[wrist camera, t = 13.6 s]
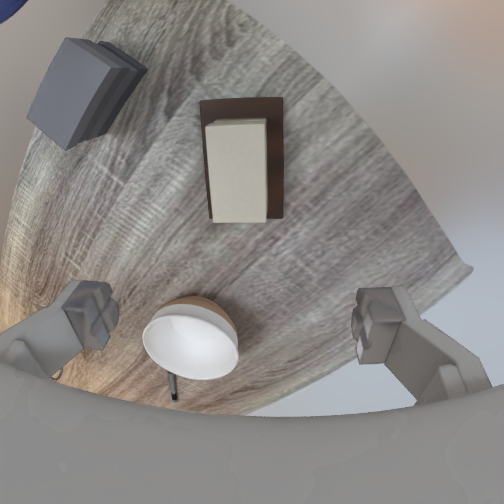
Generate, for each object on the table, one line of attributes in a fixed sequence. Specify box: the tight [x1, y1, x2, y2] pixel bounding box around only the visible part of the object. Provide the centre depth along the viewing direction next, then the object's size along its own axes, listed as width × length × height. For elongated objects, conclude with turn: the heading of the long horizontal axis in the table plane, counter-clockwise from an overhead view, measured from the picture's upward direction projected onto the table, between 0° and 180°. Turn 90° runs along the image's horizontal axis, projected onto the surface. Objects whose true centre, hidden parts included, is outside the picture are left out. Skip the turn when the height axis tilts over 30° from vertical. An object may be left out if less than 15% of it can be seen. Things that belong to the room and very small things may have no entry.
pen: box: [168, 371, 177, 403], centre depth 65 cm, size 1×16×1 cm, turn 173°
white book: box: [205, 121, 267, 223], centre depth 32 cm, size 11×6×2 cm, turn 2°
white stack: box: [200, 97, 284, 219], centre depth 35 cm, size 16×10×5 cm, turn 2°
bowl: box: [143, 296, 238, 380], centre depth 49 cm, size 16×16×8 cm
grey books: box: [27, 38, 148, 151], centre depth 29 cm, size 11×8×10 cm
